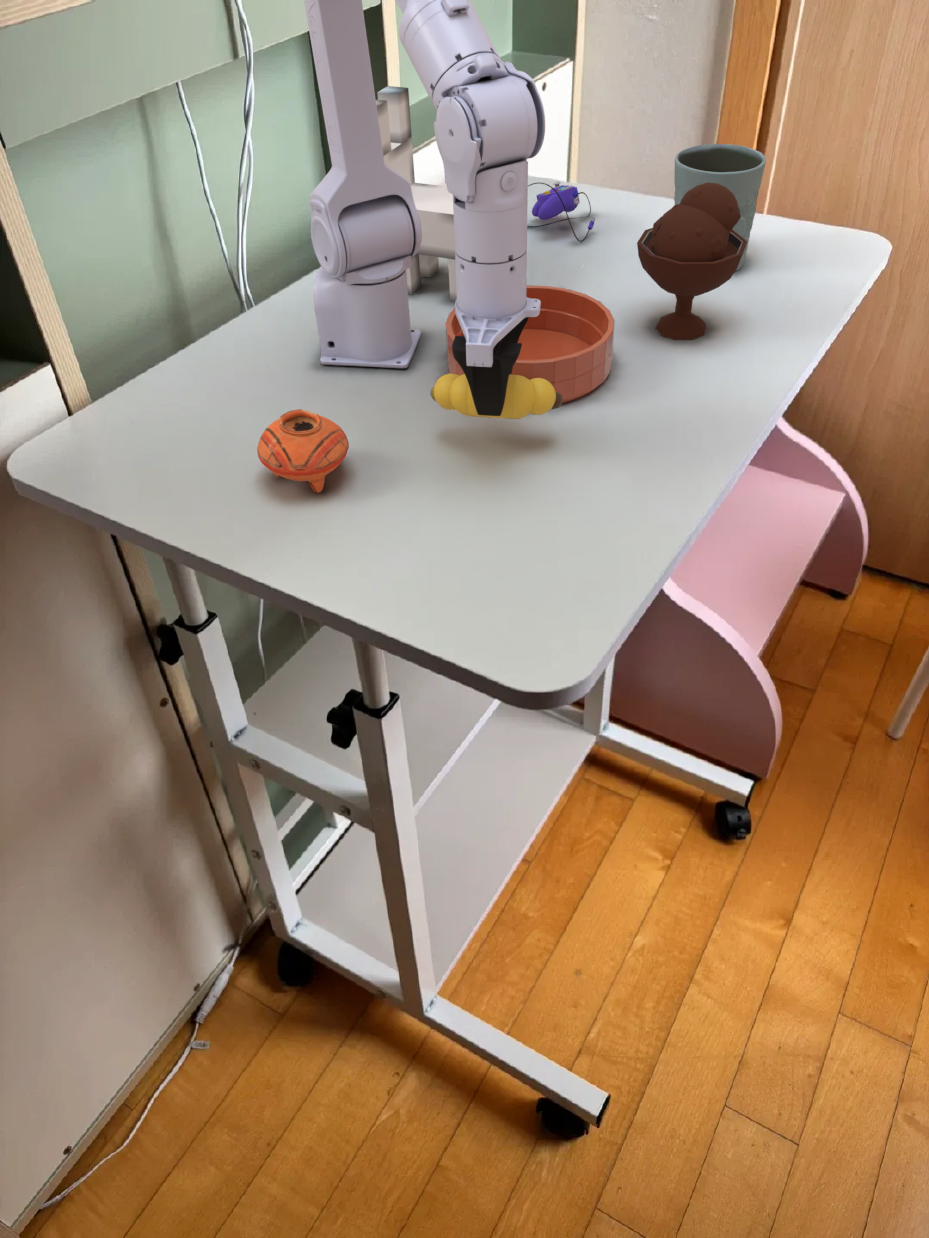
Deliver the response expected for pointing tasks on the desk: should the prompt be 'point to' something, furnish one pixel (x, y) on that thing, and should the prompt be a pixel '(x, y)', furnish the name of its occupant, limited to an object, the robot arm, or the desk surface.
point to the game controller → (558, 204)
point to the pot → (303, 447)
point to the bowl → (558, 341)
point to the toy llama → (417, 191)
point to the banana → (518, 401)
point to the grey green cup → (723, 177)
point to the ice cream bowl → (692, 253)
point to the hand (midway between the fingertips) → (493, 400)
